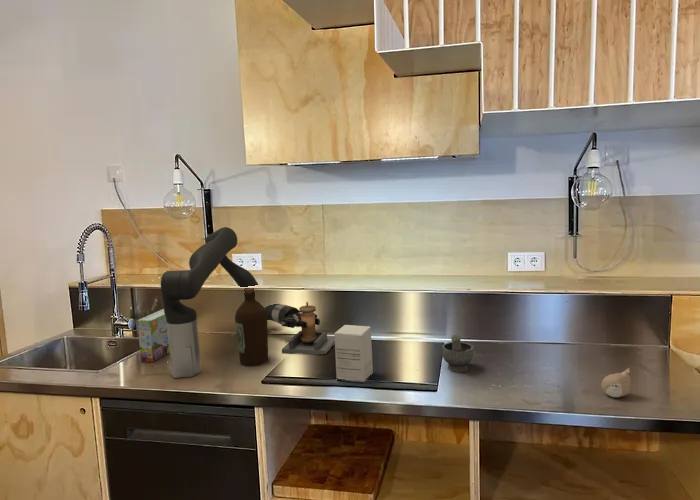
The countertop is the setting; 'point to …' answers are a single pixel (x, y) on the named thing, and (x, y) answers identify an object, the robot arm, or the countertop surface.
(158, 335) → the snack box
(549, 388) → the countertop surface
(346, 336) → the supplement box
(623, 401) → the countertop surface
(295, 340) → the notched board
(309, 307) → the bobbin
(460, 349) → the mortar and pestle
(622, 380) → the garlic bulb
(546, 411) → the countertop surface
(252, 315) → the olive oil
